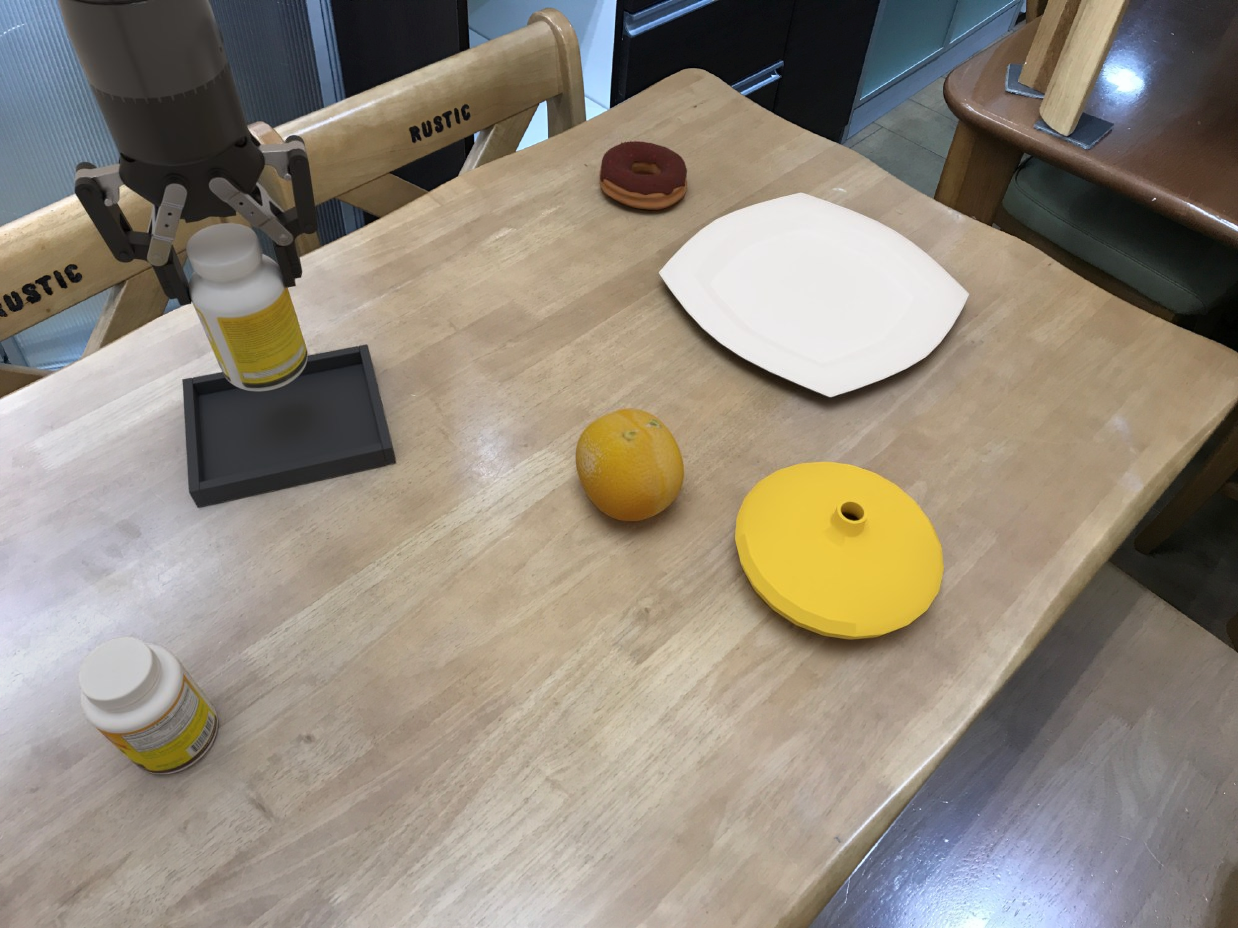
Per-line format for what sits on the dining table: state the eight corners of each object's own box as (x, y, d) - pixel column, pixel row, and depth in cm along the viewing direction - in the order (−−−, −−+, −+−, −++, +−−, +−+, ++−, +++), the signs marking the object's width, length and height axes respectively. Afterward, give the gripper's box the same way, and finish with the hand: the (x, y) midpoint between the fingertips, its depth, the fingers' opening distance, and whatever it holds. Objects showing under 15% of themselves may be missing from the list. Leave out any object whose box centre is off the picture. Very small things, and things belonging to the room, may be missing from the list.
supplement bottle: (127, 713, 59) (59, 641, 51) (214, 684, 61) (161, 610, 53) (134, 791, 56) (63, 728, 48) (226, 758, 57) (172, 692, 50)
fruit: (699, 500, 72) (712, 437, 66) (629, 556, 69) (636, 495, 63) (623, 439, 76) (629, 374, 70) (553, 489, 72) (552, 425, 66)
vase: (811, 453, 76) (830, 397, 71) (970, 568, 70) (1004, 516, 64) (687, 558, 69) (698, 505, 63) (851, 698, 62) (879, 652, 57)
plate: (621, 285, 89) (622, 269, 87) (795, 188, 101) (799, 173, 100) (829, 441, 77) (834, 426, 76) (998, 310, 89) (1005, 295, 88)
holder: (197, 508, 70) (188, 492, 68) (190, 396, 77) (182, 379, 75) (396, 463, 73) (392, 447, 72) (371, 360, 81) (367, 343, 79)
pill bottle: (326, 366, 69) (291, 245, 60) (253, 409, 66) (204, 287, 57) (279, 325, 72) (238, 203, 63) (206, 364, 69) (153, 241, 60)
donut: (704, 193, 100) (709, 162, 97) (642, 227, 95) (644, 195, 92) (642, 154, 104) (645, 123, 101) (579, 185, 99) (580, 153, 96)
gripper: (10, 109, 46) (130, 343, 59) (293, 76, 50) (349, 304, 63) (19, 42, 51) (130, 274, 64) (279, 16, 54) (334, 241, 67)
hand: (238, 288), depth 63 cm, fingers closed on pill bottle, 6 cm apart
